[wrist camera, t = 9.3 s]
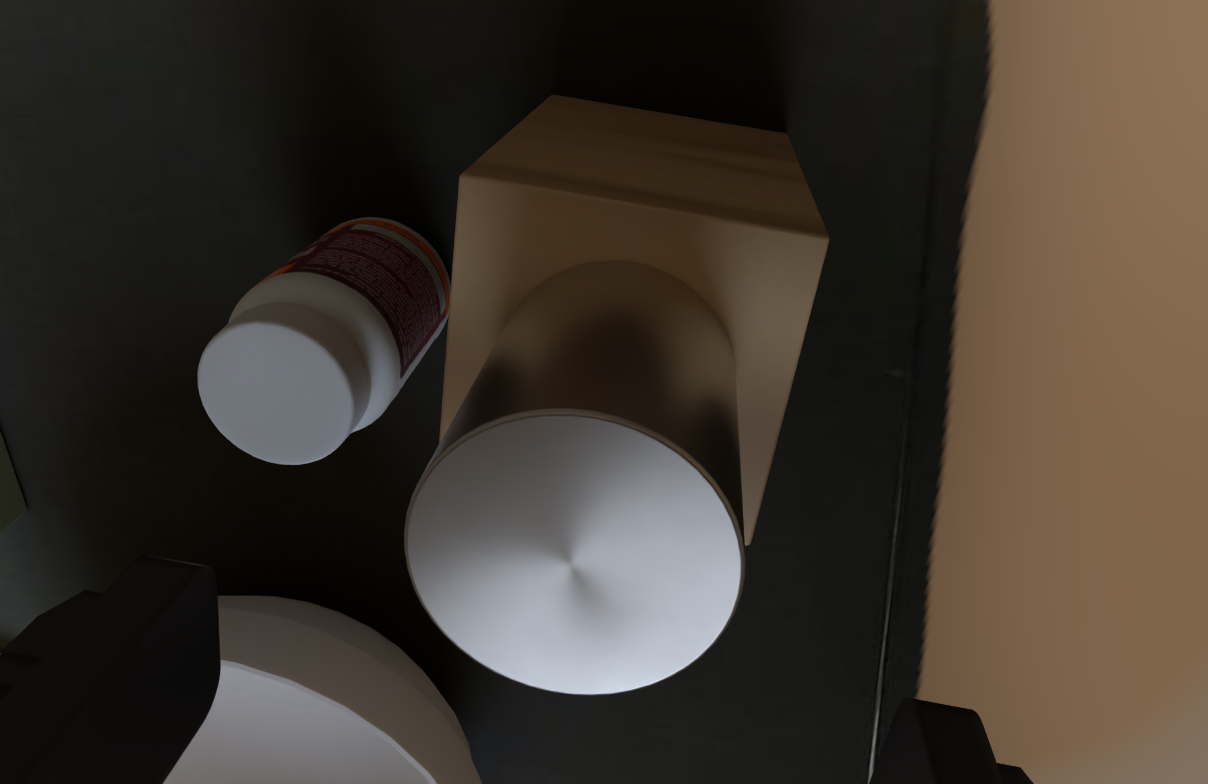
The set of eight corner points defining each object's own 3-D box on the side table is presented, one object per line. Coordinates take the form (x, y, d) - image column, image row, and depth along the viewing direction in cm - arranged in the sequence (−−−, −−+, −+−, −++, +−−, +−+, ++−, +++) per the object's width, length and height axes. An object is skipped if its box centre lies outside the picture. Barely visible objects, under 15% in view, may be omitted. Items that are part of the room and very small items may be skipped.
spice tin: (510, 240, 18) (411, 380, 12) (758, 283, 18) (781, 447, 12) (488, 455, 20) (394, 664, 14) (709, 495, 20) (709, 723, 14)
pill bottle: (332, 190, 29) (199, 273, 22) (473, 250, 30) (391, 352, 22) (296, 320, 31) (164, 436, 24) (429, 374, 32) (340, 506, 24)
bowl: (49, 504, 36) (-100, 627, 29) (518, 539, 34) (472, 678, 28) (142, 837, 44) (41, 992, 37) (527, 878, 42) (493, 1049, 35)
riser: (551, 93, 27) (458, 173, 17) (787, 133, 27) (830, 237, 17) (525, 314, 30) (434, 489, 20) (738, 351, 30) (750, 547, 20)
